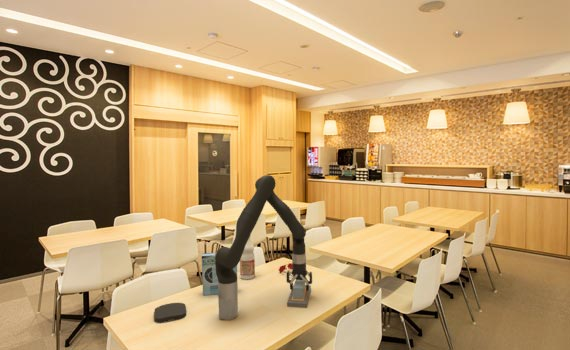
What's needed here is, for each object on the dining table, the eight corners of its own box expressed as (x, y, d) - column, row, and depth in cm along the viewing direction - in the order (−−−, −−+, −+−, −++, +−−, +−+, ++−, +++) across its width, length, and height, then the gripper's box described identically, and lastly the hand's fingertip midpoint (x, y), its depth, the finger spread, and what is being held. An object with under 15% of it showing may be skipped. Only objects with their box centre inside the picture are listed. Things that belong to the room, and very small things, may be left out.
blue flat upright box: (237, 289, 186) (236, 251, 185) (237, 293, 181) (236, 253, 180) (203, 292, 183) (202, 252, 182) (202, 295, 178) (201, 255, 177)
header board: (306, 307, 162) (306, 297, 162) (287, 306, 164) (287, 295, 164) (310, 288, 186) (310, 279, 186) (293, 287, 188) (293, 278, 187)
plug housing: (302, 299, 167) (302, 288, 167) (293, 298, 168) (292, 287, 168) (306, 283, 188) (306, 274, 187) (298, 283, 188) (297, 273, 188)
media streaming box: (154, 311, 162) (154, 305, 162) (184, 306, 167) (184, 300, 167) (154, 324, 148) (154, 318, 148) (187, 318, 153) (186, 312, 153)
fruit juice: (237, 276, 207) (236, 234, 206) (250, 273, 212) (249, 232, 211) (244, 281, 199) (243, 236, 198) (257, 277, 204) (256, 234, 203)
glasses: (293, 268, 221) (293, 261, 221) (310, 275, 209) (310, 267, 209) (277, 273, 213) (277, 266, 212) (294, 280, 200) (294, 272, 200)
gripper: (285, 262, 171) (285, 292, 172) (311, 264, 169) (311, 294, 170) (287, 258, 179) (287, 287, 180) (312, 259, 176) (313, 288, 177)
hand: (299, 290), depth 175 cm, fingers open, 8 cm apart
